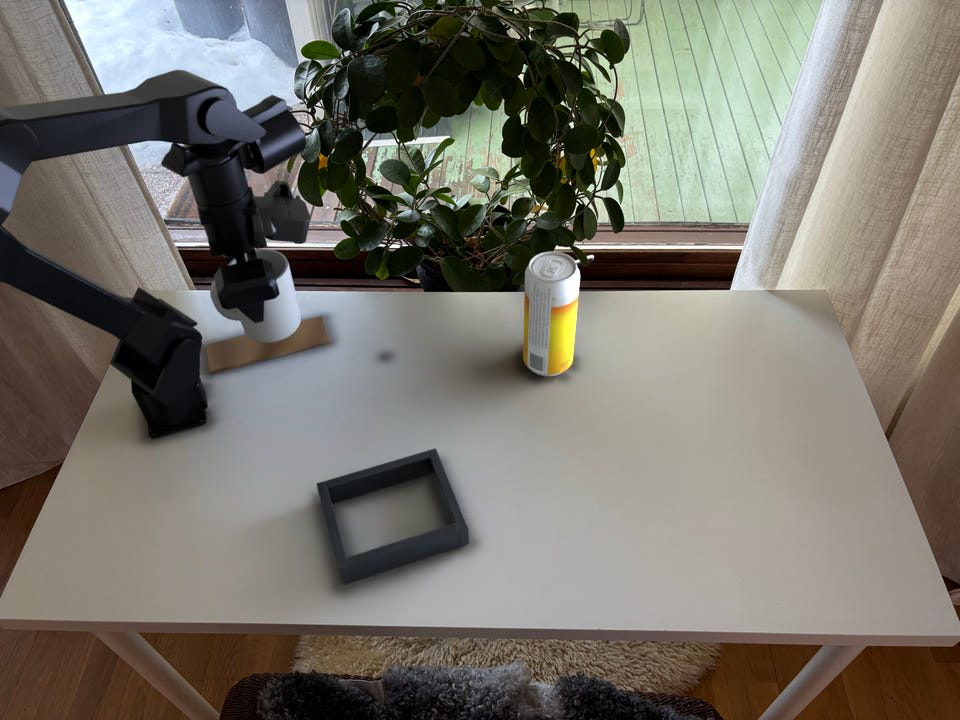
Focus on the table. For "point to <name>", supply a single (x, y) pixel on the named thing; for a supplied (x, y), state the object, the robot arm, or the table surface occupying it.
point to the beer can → (550, 312)
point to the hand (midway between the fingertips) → (254, 302)
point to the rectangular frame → (402, 549)
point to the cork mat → (265, 346)
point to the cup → (269, 304)
